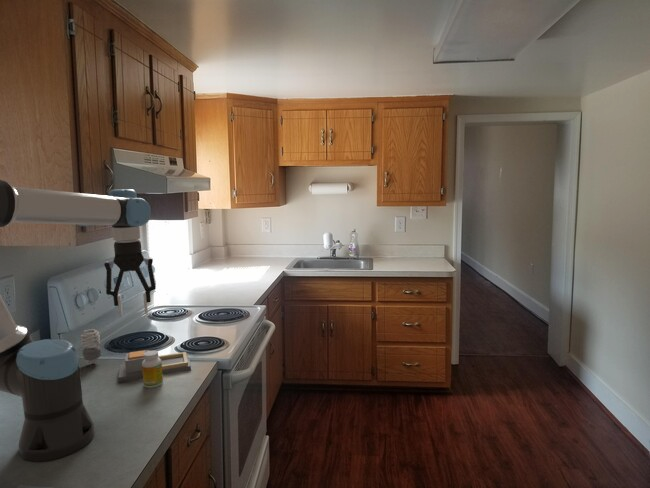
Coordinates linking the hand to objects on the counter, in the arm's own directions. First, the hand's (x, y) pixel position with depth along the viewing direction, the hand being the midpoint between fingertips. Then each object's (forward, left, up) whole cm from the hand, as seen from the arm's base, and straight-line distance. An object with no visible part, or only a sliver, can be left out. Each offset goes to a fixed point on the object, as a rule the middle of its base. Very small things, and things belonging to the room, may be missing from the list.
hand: (133, 314), depth 141 cm
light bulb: (-8, +18, -19) cm, 27 cm away
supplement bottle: (-1, -12, -19) cm, 23 cm away
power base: (+5, -2, -19) cm, 20 cm away
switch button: (0, 0, -16) cm, 16 cm away
